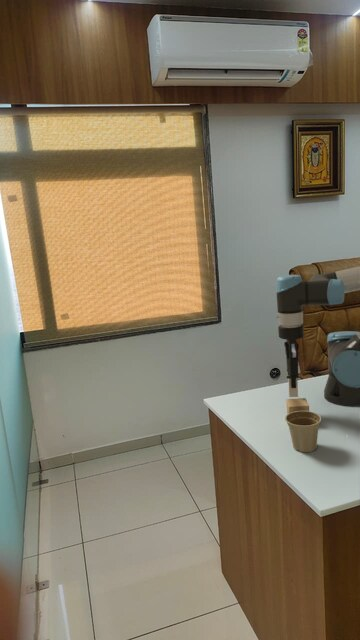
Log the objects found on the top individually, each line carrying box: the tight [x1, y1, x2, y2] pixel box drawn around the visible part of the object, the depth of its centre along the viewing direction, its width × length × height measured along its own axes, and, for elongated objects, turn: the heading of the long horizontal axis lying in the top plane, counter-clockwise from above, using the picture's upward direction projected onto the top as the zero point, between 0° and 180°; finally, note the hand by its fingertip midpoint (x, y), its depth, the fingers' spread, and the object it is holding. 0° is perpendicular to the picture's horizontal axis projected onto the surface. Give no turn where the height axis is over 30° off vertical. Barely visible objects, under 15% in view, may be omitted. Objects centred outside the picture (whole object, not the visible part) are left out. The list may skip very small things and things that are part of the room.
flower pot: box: [284, 410, 322, 453], centre depth 113 cm, size 9×9×9 cm
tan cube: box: [285, 397, 310, 415], centre depth 129 cm, size 6×6×6 cm
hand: (293, 396), depth 133 cm, fingers closed
